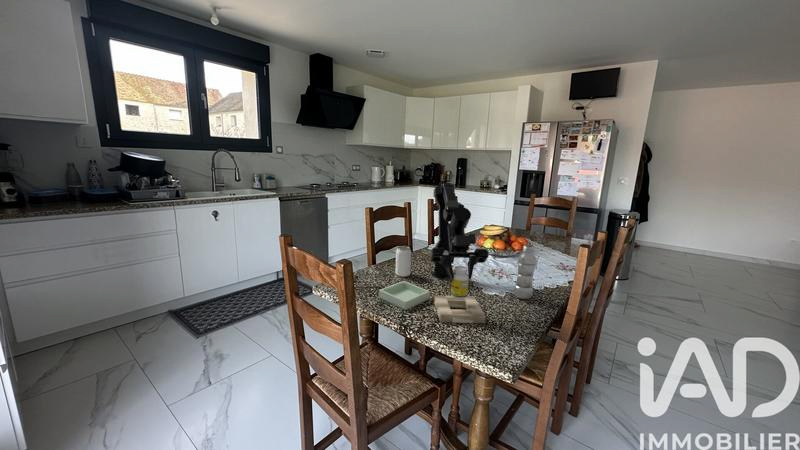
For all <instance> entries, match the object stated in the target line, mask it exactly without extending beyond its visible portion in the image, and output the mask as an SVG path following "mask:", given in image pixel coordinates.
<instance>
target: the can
mask: <svg viewBox="0 0 800 450" xmlns="http://www.w3.org/2000/svg"><path fill="white" fill-rule="evenodd" d="M411 263H412V250H411V247H409V246H407V245H405V246H404V245H402V246H401V245H400V246H397V247H396V251H395V274H396V276H398V277H403V278H404V277H406V278H407V277H409V276H410V275H411V266H412V265H411Z"/></svg>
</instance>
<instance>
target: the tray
mask: <svg viewBox="0 0 800 450" xmlns="http://www.w3.org/2000/svg"><path fill="white" fill-rule="evenodd" d="M430 295H431V291H430V290H427V289H425V288H423V287H420V286H418V285H415V284H413V283H411V282H408V281H406V280H403V281H400V282H397V283H394V284H391V285H389V286H386V287H383V288H381V289H379V290H378V298H379V299H381V300H383V301H384V302H387V303H388V304H390V305H393V306H394V307H397V308H398V309H401V310H402V311H403V310H404V311H407V310H409V309H411V308H413V307H416V306H417V305H420V304H422V303H424V302H426V301H429V300H430V297H431V296H430Z"/></svg>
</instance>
